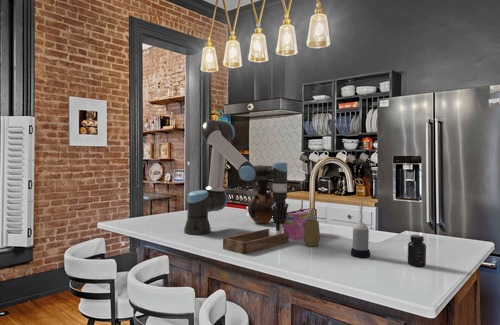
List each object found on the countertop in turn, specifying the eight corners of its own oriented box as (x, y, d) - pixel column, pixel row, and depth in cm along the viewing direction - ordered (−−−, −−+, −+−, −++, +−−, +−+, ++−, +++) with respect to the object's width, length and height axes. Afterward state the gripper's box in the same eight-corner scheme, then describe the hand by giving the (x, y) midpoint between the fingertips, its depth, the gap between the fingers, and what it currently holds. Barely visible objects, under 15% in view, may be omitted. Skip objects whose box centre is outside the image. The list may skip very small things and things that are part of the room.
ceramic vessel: (262, 219, 255) (262, 176, 254) (282, 222, 243) (283, 177, 242) (241, 223, 239) (242, 177, 239) (261, 226, 227) (262, 178, 227)
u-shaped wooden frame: (222, 248, 172) (223, 238, 172) (267, 237, 196) (267, 228, 196) (244, 254, 163) (244, 243, 162) (288, 242, 187) (288, 232, 187)
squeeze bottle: (321, 244, 184) (321, 208, 183) (318, 247, 176) (319, 210, 176) (305, 242, 186) (305, 207, 186) (302, 246, 179) (302, 209, 178)
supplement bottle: (404, 262, 153) (404, 234, 153) (419, 262, 153) (420, 234, 153) (413, 267, 146) (413, 237, 146) (429, 267, 147) (429, 237, 146)
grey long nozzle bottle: (373, 256, 163) (374, 200, 162) (364, 259, 157) (365, 201, 157) (356, 252, 169) (357, 198, 168) (347, 255, 163) (348, 199, 163)
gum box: (306, 231, 216) (306, 208, 216) (318, 233, 211) (318, 209, 211) (282, 237, 198) (283, 212, 198) (294, 240, 193) (295, 214, 193)
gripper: (277, 192, 185) (277, 239, 185) (292, 191, 195) (292, 235, 195) (266, 191, 190) (265, 237, 190) (281, 190, 200) (280, 233, 200)
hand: (279, 236), depth 193 cm, fingers closed
